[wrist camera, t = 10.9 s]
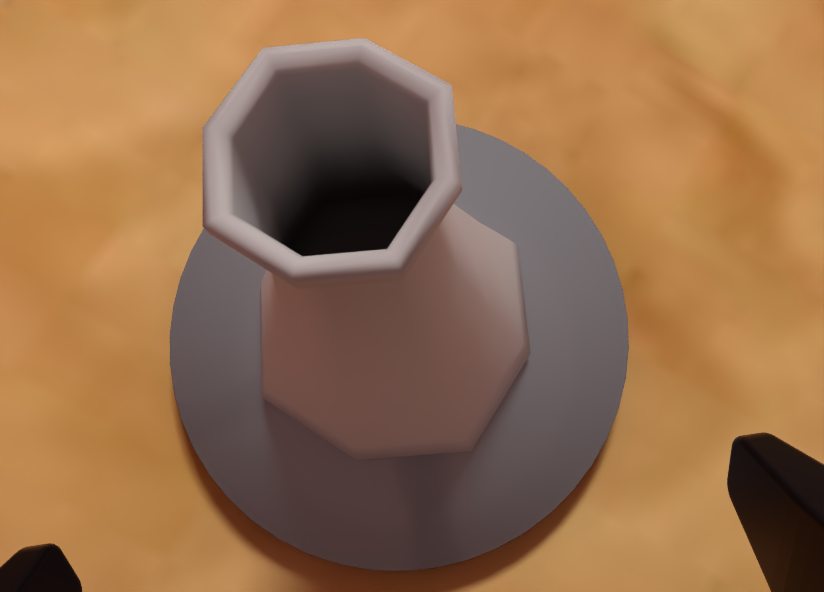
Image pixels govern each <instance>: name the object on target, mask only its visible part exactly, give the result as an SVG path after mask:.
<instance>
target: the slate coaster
mask: <svg viewBox="0 0 824 592" xmlns="http://www.w3.org/2000/svg"><path fill="white" fill-rule="evenodd" d="M456 132H457V142H458V152H459V161H460V171H461V181H462V191H461V193H460V195H459V196H458V198H457V199H456V201H455V202H454V204H455V205H456V206H457V207H459V208H460V209H462V210H463V211H464V212H466V213H467V214H469V215H470V216H471V217H473V218H474V219H476V220H477V221H478V222H480V223H481V224H483V225H485V226H487V227H488V228H490V229H492V230H494V231H495V232H497V233H499V234H501V235H502V236H504V237H506V238H508V239H509V240H511V241H512V242H514V243H515V244H517V245H518V251H519V259H520V268H521V276H522V284H523V293H524V301H525V309H526V318H527V326H528V334H529V343H530V351H531V353H530V355H529V357H528V358H527V360H526V362H525V363H524V365H523V367H522V368H521V370H520V372H519V373H518V375H517V377H516V378H515V380H514V382H513V383H512V385H511V387H510V388H509V390H508V392H507V393H506V395H505V397H504V398H503V400H502V402H501V403H500V405H499V407H498V408H497V410H496V412H495V413H494V415H493V417H492V418H491V420H490V422H489V423H488V425H487V427H486V428H485V430H484V432H483V433H482V435H481V436H480V438H479V440H478V441H477V443H476V445H475V446H474V448H473V450H472V451H467V452H454V453H441V454H429V455H416V456H403V457H391V458H378V459H365V460H355V459H353V458H352V457H350V456H349V455H347V454H346V453H344V452H343V451H341V450H340V449H338V448H337V447H335V446H334V445H332V444H331V443H329V442H328V441H326V440H325V439H323V438H322V437H320V436H319V435H317V434H316V433H314V432H313V431H311V430H310V429H308V428H307V427H305V426H304V425H302V424H301V423H299V422H298V421H296V420H295V419H293V418H292V417H290V416H289V415H287V414H286V413H284V412H283V411H281V410H280V409H278V408H277V407H275V406H274V405H272V404H271V403H269V402H268V401H266V400H265V399H263V398H262V366H261V321H260V286H261V282H262V280H263V277H264V275H265V273H266V269H265V268H263V267H261V266H260V265H258V264H257V263H255V262H253V261H252V260H250V259H249V258H247V257H246V256H244V255H242V254H241V253H239V252H238V251H236V250H234V249H233V248H231V247H230V246H228V245H226V244H225V243H223V242H222V241H220V240H218V239H217V238H215V237H214V236H212V235H210V234H209V233H208V232H207V231H206V230H205V228H204V229H203V231H202V233H201V234H200V236H199V238H198V240H197V242H196V244H195V245H194V247H193V249H192V251H191V253H190V256H189V258H188V261H187V263H186V266H185V268H184V271H183V273H182V276H181V279H180V283H179V286H178V290H177V294H176V298H175V302H174V306H173V314H172V322H171V330H170V366H171V373H172V381H173V388H174V394H175V398H176V401H177V405H178V408H179V412H180V416H181V419H182V422H183V425H184V427H185V429H186V432H187V434H188V436H189V439H190V441H191V443H192V446H193V448H194V450H195V452H196V453H197V455H198V457H199V458H200V460H201V462H202V463H203V465H204V467H205V468H206V470H207V472H208V473H209V475H210V476H211V477H212V479H213V480H214V481H215V482H216V484H217V485H218V486H219V487H220V489H221V490H222V491H223V492H224V493H225V495H226V496H227V497H228V498H229V500H230V501H232V502H233V503H234V504H235V505H236V506H237V507H238V508H239V509H240V510H241V511H242V512H243V513H244V514H245V515H247V516H248V517H249V518H250V519H251V520H252V521H253V522H255V523H256V524H258V525H259V526H260V527H262V528H263V529H265V530H266V531H268V532H269V533H270V534H272V535H273V536H275V537H276V538H278V539H279V540H281V541H283V542H285V543H287V544H289V545H291V546H293V547H295V548H297V549H299V550H301V551H303V552H305V553H307V554H310V555H313V556H316V557H319V558H322V559H325V560H328V561H331V562H334V563H337V564H342V565H347V566H352V567H357V568H363V569H368V570H386V571H409V570H420V569H431V568H437V567H441V566H445V565H449V564H454V563H458V562H462V561H466V560H468V559H471V558H474V557H476V556H479V555H481V554H484V553H486V552H489V551H492V550H494V549H496V548H498V547H500V546H502V545H504V544H505V543H507V542H509V541H511V540H512V539H514V538H516V537H518V536H520V535H521V534H523V533H525V532H526V531H527V530H529V529H530V528H531V527H533V526H534V525H535V524H537V523H538V522H539V521H541V520H542V519H543V518H545V517H546V516H547V515H549V514H550V513H551V512H552V511H553V510H554V509H555V508H556V507H557V506H558V505H559V504H560V503H561V502H562V501H563V500H564V499H565V498H566V497H567V496H568V495H569V494H570V493H571V492H572V491H573V490H574V488H575V487H576V486H577V484H578V483H579V482H580V480H581V479H582V478H583V476H584V475H585V474H586V472H587V471H588V470H589V468H590V467H591V466H592V464H593V462H594V460H595V459H596V457H597V455H598V453H599V451H600V450H601V448H602V446H603V444H604V442H605V441H606V439H607V437H608V434H609V432H610V429H611V427H612V424H613V421H614V419H615V416H616V414H617V411H618V408H619V404H620V400H621V396H622V392H623V388H624V383H625V379H626V370H627V360H628V350H629V344H628V318H627V312H626V306H625V301H624V295H623V289H622V286H621V282H620V279H619V276H618V273H617V270H616V267H615V263H614V260H613V258H612V256H611V254H610V252H609V250H608V248H607V245H606V243H605V241H604V239H603V237H602V235H601V233H600V231H599V230H598V228H597V227H596V225H595V224H594V222H593V220H592V219H591V217H590V216H589V214H588V213H587V211H586V210H585V208H584V207H583V206H582V205H581V204H580V202H579V201H578V200H577V199H576V198H575V196H574V195H573V194H572V193H571V192H570V190H569V189H568V188H567V187H566V186H565V185H564V184H563V183H562V182H560V181H559V180H558V179H557V178H556V177H555V176H554V175H553V174H552V173H551V172H550V171H549V170H547V169H546V168H545V167H543V166H542V165H541V164H539V163H538V162H536V161H535V160H534V159H532V158H531V157H529V156H528V155H527V154H525V153H524V152H522V151H520V150H518V149H517V148H515V147H513V146H511V145H509V144H507V143H505V142H504V141H502V140H500V139H498V138H495V137H493V136H490V135H487V134H485V133H482V132H480V131H477V130H475V129H472V128H468V127H464V126H460V125H456Z"/></svg>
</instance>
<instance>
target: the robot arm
mask: <svg viewBox="0 0 824 592" xmlns="http://www.w3.org/2000/svg"><path fill="white" fill-rule="evenodd" d="M727 486H728V492H729V495H730V498H731V501H732V503H733V506H734V508H735V510H736V512H737V515H738V517H739V519H740V522H741V524H742V526H743V528H744V531H745V533H746V535H747V538H748V540H749V542H750V544H751V547H752V549H753V551H754V553H755V556H756V558H757V560H758V563H759V565H760V567H761V569H762V572H763V574H764V576H765V579H766V581H767V583H768V585H769V588H770V590H771V592H824V464H822V463H820V462H819V461H817V460H815V459H813V458H812V457H810V456H808V455H806V454H805V453H803V452H801V451H800V450H798V449H796V448H794V447H793V446H791V445H789V444H788V443H786V442H784V441H782V440H781V439H779V438H777V437H775V436H774V435H772V434H769V433H756V434H750V435H743V436H739V437H736V438H735V440H734V441H733V444H732V449H731V456H730V464H729V471H728V478H727ZM0 592H82V586H81V583H80V580H79V578H78V577H77V575H76V573H75V572H74V570H73V568H72V567H71V565H70V564H69V562H68V560H67V559H66V557H65V555H64V554H63V552H62V551H61V549H60V548H59V547H58V546H56V545H55V544H50V543H49V544H43V545H36V546H30V547H25V548H23V549H21V550H19V551H18V552H17V553H15V554H14V555H13V556H12V557H11V558H10V559H9V560H8V561H7V562H6V563H4V564H3V565H2V566H1V567H0Z"/></svg>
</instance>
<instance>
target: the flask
mask: <svg viewBox="0 0 824 592" xmlns="http://www.w3.org/2000/svg"><path fill="white" fill-rule="evenodd" d="M461 191H462V181H461V171H460V161H459V152H458V142H457V132H456V122H455V112H454V102H453V92H452V85H451V84H449V83H447V82H445V81H443V80H441V79H440V78H438V77H436V76H434V75H432V74H430V73H428V72H427V71H425V70H423V69H421V68H419V67H417V66H416V65H414V64H412V63H410V62H408V61H406V60H404V59H403V58H401V57H399V56H397V55H395V54H393V53H391V52H390V51H388V50H386V49H384V48H382V47H380V46H378V45H377V44H375V43H373V42H371V41H369V40H367V39H365V38H359V39H348V40H338V41H328V42H318V43H307V44H297V45H287V46H276V47H266V48H262V50H261V51H260V52H259V54H258V55H257V56H256V58H255V59H254V60H253V62H252V63H251V64H250V66H249V67H248V68H247V70H246V71H245V72H244V74H243V75H242V76H241V78H240V79H239V80H238V82H237V83H236V84H235V85H234V87H233V88H232V89H231V91H230V92H229V93H228V95H227V96H226V97H225V99H224V100H223V101H222V103H221V104H220V105H219V107H218V108H217V109H216V111H215V112H214V113H213V115H212V116H211V117H210V119H209V120H208V121H207V122H206V124H205V125H204V126H203V227H204V228H205V230H206V231H207V232H208V233H209V234H210V235H212V236H214V237H215V238H217V239H218V240H220V241H222V242H223V243H225V244H226V245H228V246H230V247H231V248H233V249H234V250H236V251H238V252H239V253H241V254H242V255H244V256H246V257H247V258H249V259H250V260H252V261H253V262H255V263H257V264H258V265H260V266H261V267H263V268H265V269H266V273H265V275H264V277H263V280H262V282H261V286H260V321H261V366H262V398H263V399H265V400H266V401H268V402H269V403H271V404H272V405H274V406H275V407H277V408H278V409H280V410H281V411H283V412H284V413H286V414H287V415H289V416H290V417H292V418H293V419H295V420H296V421H298V422H299V423H301V424H302V425H304V426H305V427H307V428H308V429H310V430H311V431H313V432H314V433H316V434H317V435H319V436H320V437H322V438H323V439H325V440H326V441H328V442H329V443H331V444H332V445H334V446H335V447H337V448H338V449H340V450H341V451H343V452H344V453H346V454H347V455H349V456H350V457H352V458H353V459H355V460H365V459H378V458H391V457H403V456H416V455H429V454H441V453H454V452H467V451H472V450H473V448H474V446H475V445H476V443H477V441H478V440H479V438H480V436H481V435H482V433H483V432H484V430H485V428H486V427H487V425H488V423H489V422H490V420H491V418H492V417H493V415H494V413H495V412H496V410H497V408H498V407H499V405H500V403H501V402H502V400H503V398H504V397H505V395H506V393H507V392H508V390H509V388H510V387H511V385H512V383H513V382H514V380H515V378H516V377H517V375H518V373H519V372H520V370H521V368H522V367H523V365H524V363H525V362H526V360H527V358H528V357H529V355H530V353H531V351H530V343H529V334H528V326H527V318H526V309H525V301H524V293H523V284H522V276H521V268H520V259H519V251H518V245H517V244H515V243H514V242H512V241H511V240H509V239H508V238H506V237H504V236H502V235H501V234H499V233H497V232H495V231H494V230H492V229H490V228H488V227H487V226H485V225H483V224H481V223H480V222H478V221H477V220H476V219H474V218H473V217H471V216H470V215H469V214H467V213H466V212H464V211H463V210H462V209H460V208H459V207H457V206H456V205H455V204H454V202H455V201H456V199H457V198H458V196H459V195H460V193H461Z"/></svg>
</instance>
